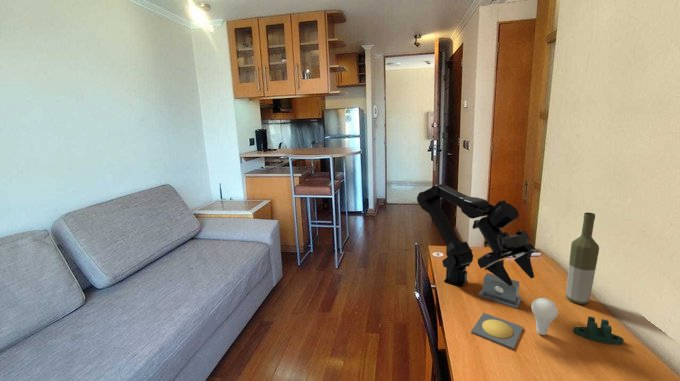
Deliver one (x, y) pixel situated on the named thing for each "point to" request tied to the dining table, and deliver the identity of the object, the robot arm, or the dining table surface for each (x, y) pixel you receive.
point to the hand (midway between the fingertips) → (522, 281)
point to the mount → (598, 332)
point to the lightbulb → (544, 314)
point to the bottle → (582, 263)
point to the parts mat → (497, 330)
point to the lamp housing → (500, 291)
